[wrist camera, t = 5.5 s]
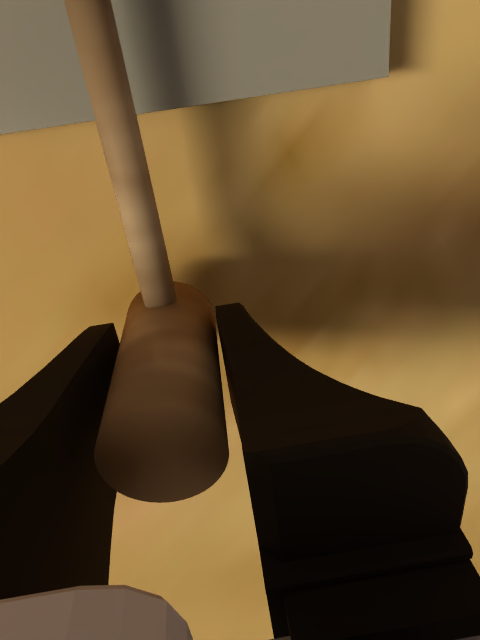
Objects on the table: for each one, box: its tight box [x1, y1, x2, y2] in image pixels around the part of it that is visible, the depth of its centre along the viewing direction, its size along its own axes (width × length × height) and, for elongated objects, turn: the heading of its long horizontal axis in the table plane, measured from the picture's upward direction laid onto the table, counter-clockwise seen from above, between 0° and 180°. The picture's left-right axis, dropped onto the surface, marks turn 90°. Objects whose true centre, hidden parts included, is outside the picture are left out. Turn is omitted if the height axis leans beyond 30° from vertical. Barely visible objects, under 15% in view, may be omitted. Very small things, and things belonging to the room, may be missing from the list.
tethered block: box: [64, 0, 229, 503], centre depth 7 cm, size 4×14×5 cm, turn 7°
